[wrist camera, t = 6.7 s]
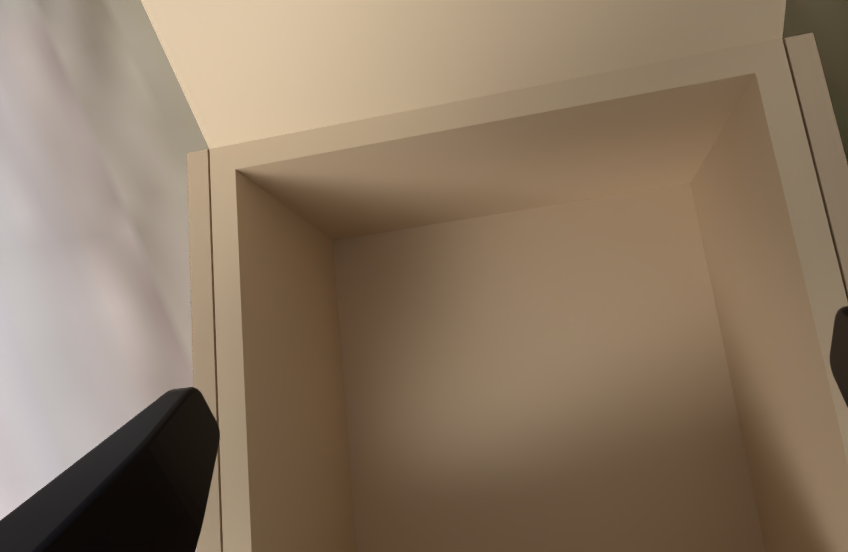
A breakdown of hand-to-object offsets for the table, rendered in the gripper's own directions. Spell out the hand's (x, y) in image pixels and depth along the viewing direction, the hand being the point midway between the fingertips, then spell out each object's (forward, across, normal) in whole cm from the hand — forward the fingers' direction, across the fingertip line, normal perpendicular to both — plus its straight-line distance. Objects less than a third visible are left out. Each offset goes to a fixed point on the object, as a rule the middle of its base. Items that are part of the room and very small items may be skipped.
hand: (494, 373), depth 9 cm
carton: (+7, 0, +7) cm, 10 cm away
